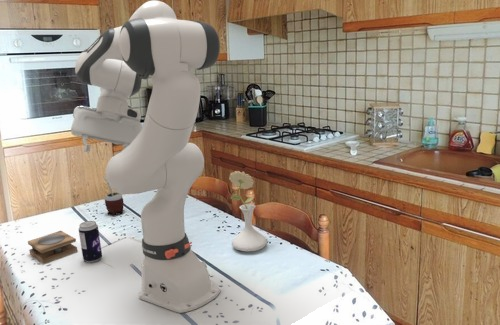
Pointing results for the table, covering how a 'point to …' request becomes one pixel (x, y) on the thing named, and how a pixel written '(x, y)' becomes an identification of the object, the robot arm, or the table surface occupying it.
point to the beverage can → (90, 241)
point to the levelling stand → (52, 246)
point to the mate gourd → (114, 202)
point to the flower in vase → (246, 217)
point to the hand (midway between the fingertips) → (103, 154)
